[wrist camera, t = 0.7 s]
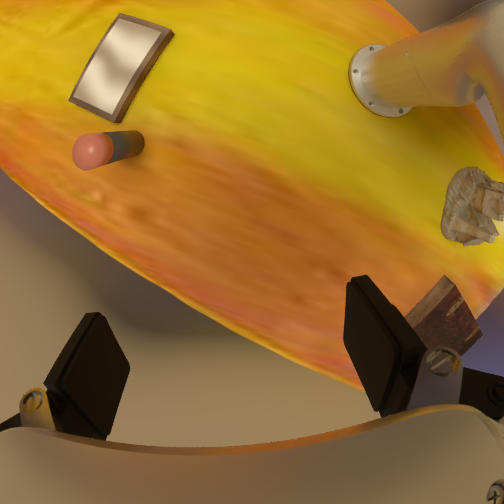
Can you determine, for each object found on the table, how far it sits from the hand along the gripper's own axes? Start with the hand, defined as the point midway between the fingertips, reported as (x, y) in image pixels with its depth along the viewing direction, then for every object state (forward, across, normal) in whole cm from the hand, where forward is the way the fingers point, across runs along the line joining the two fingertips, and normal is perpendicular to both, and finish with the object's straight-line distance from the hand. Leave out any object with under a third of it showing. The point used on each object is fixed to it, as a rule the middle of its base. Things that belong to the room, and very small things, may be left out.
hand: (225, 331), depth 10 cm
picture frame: (+33, +14, -22) cm, 42 cm away
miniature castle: (+32, -46, +8) cm, 57 cm away
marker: (+33, +14, -9) cm, 37 cm away
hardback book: (+33, -45, +41) cm, 69 cm away
